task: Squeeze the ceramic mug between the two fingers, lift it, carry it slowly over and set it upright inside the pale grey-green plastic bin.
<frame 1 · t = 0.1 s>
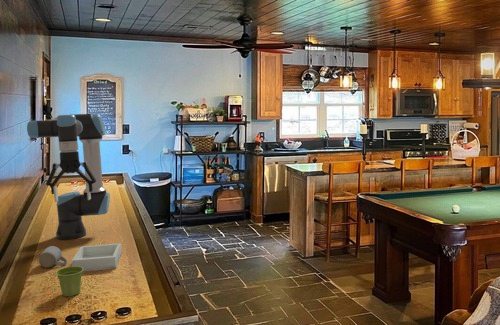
hand: (73, 200, 200), 28 cm above the table, tool pointing down, fingers open, 13 cm apart
plant pot: (71, 294, 169), on the table
ceramic mug: (54, 265, 202), on the table
bin: (98, 262, 203), on the table
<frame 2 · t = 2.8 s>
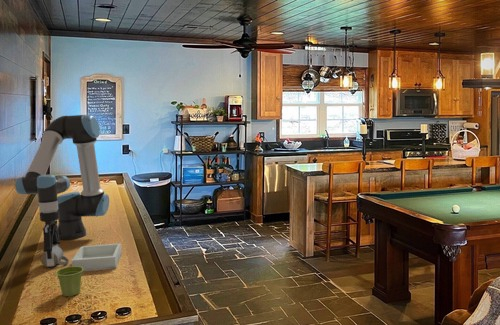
hand: (53, 262, 201), 1 cm above the table, tool pointing down, fingers closed on ceramic mug, 8 cm apart
ceramic mug: (55, 265, 202), on the table, touching gripper
everything else where it was.
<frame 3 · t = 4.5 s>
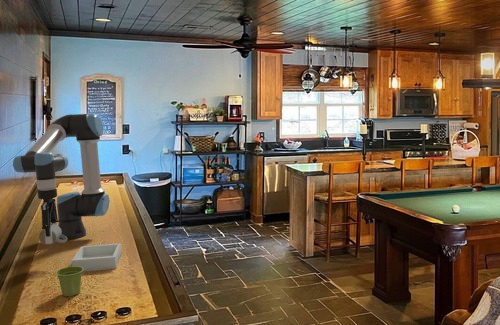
hand: (52, 240, 201), 11 cm above the table, tool pointing down, fingers closed on ceramic mug, 8 cm apart
ceramic mug: (54, 243, 201), point 9 cm above the table, touching gripper
everything else where it was.
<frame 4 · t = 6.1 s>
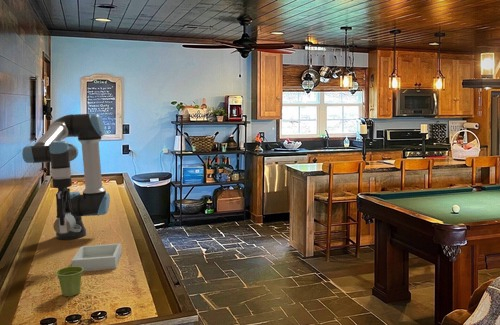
hand: (66, 229, 200), 15 cm above the table, tool pointing down, fingers closed on ceramic mug, 8 cm apart
ceramic mug: (68, 232, 201), point 14 cm above the table, touching gripper
everything else where it was.
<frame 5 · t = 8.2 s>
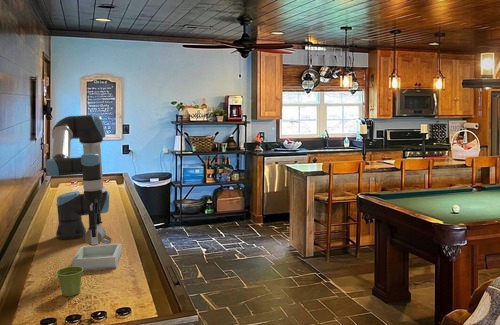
hand: (96, 241, 201), 10 cm above the table, tool pointing down, fingers closed on ceramic mug, 8 cm apart
ceramic mug: (98, 244, 202), point 8 cm above the table, touching gripper
everything else where it was.
when the fingers open (3 cm above the table, at t = 9.7 s): ceramic mug stays where it is, resting on bin.
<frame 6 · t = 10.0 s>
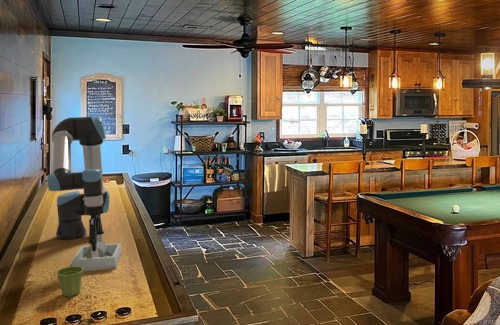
hand: (97, 253, 202), 4 cm above the table, tool pointing down, fingers open, 12 cm apart
ceramic mug: (100, 260, 203), point 1 cm above the table, touching bin
everything else where it was.
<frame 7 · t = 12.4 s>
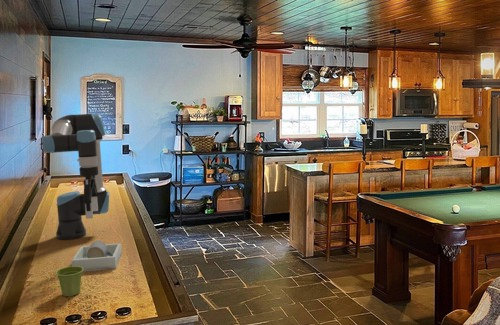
hand: (92, 214, 202), 21 cm above the table, tool pointing down, fingers open, 13 cm apart
nothing on the table moved.
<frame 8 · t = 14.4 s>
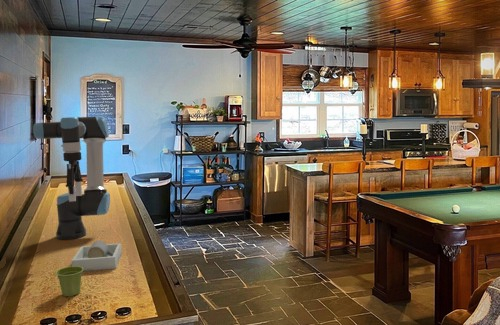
hand: (75, 198, 211), 27 cm above the table, tool pointing down, fingers open, 13 cm apart
nothing on the table moved.
at the end: ceramic mug inside the target area on the bin (1.5 cm from its centre), point 0.8 cm above the bin's base; ceramic mug tilted 1°; the gripper is holding nothing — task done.
